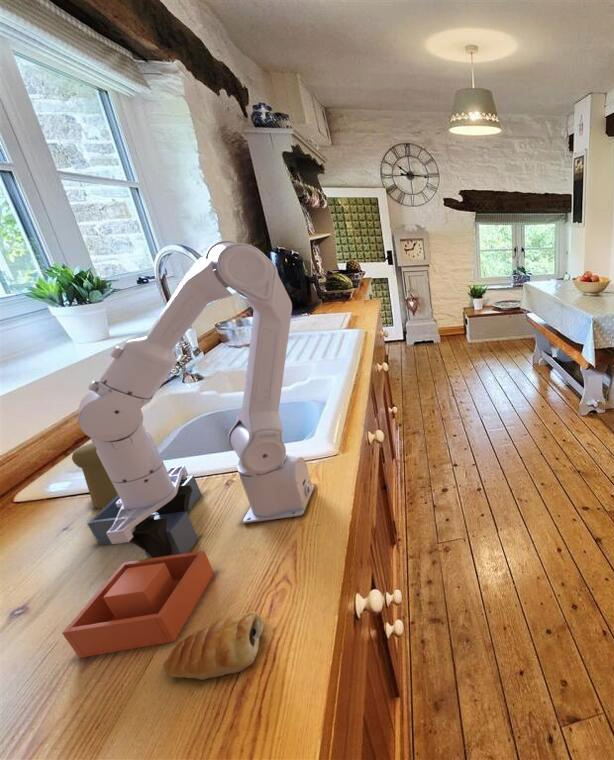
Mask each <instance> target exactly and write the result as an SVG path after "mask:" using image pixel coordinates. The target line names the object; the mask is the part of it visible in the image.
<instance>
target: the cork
mask: <svg viewBox="0 0 614 760" xmlns="http://www.w3.org/2000/svg"><path fill="white" fill-rule="evenodd" d="M96 450H97V448H96V446H95V445H94V444H93V443H92V442H90V443H87V444H85V445H81V446H80V447H78V448H76V449H75V450H74V451H73V452H72V455H71V456H72V457H71V460H72V462H73V463H74V465H75V466H76V467H78V468H80V469H81V470H82V473H83V476H84V479H85V484H86V486H87V490H88V492H89V496H90V499H91V502H92V506H93V507H94V508H97V509H103V508H104V507H105V506H106V505H107V504H109V503H110V502H111V501H112V500H113V499H114V498H115V497H116V496H117V495H118V493H117V491H116V489H115V487H114V485H113V484H112V482H111V480H110V478H109V476H108V474H107V472H106V470H105V468H104V466H103V464H102V462H101V460H100V458H99V456H98V455H97V452H96Z"/></svg>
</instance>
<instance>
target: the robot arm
mask: <svg viewBox="0 0 614 760" xmlns="http://www.w3.org/2000/svg"><path fill="white" fill-rule="evenodd" d="M228 288H230V289H232V290H233V291H235V292H236V293H237V294H238V295H239V297H240V298H242V300H244V302H246V303H247V305H248V306H250V308H251V309H252V310H253V313H252V322H251V329H250V337H249V339H250V340H249V347H248V354H247V355H248V357H247V365H246V371H245V373H246V374H245V380H244V381H245V382H244V391H243V398H242V400H243V401H242V406H241V407H240V409H239V410H238V411H237V414H236V415H237V416H236V421H235V422H234V424H233V425H232V427H231V428H230V430H229V432H228V434H227V436H228V437H227V442H228V444H229V446H230V447H231V448H232V450H233V451H234V452H235V454H236V455H237V457H238V459H239V460H238V464H237V465H236V470H237V472H238V476H239V478H240V481H241V484H242V487H243V489H244V493H245V496H246V498H247V501H248V504H249V506H250V508H249V509H248V511H247V512H246V513H245V516H244V518H243V519H242V522H243V524H250V523H257V522H258V523H259V522H264V521H265V522H266V521H272V520H278V519H286V518H294V517H300V516H302V515H303V514H304V513H305V512H306V511H305V510H306V508H307V506H308V503H309V501H310V499H311V496H312V495H313V491H314V489H315V485H314V484H313V483H312V480H311V476H310V473H309V469H308V466H307V462H306V460H305V458H304V457H303V456H292V455H289V454H287V448H286V444H285V443H284V441H283V426H282V422H281V418H280V411H279V410H280V404H281V403H280V402H281V395H282V388H283V381H284V372H285V365H286V357H287V350H288V343H289V342H288V341H289V335H290V328H291V319H292V311H293V303H292V300H291V298H290V295H289V294H288V292H287V290H286V288H285V285H284V283H283V282H282V280H281V278H280V275H279V272H278V267H277V265H276V264H275V263H274V262H273V261H272V260H271V259H270V258H268V256H267V255H265V253H264V252H263V251H262V250H260V249H259V248H258V247H256V246H254V245H251V244H249V243H243V242H241V243H240V242H235V241H232V240H221V241H218V242H215V243H213V244H211V245H210V246H209V247H208V248H207V250H206V252H205V255H204V257H200V258H199V259H197V261H196V262H195V263H194V264H193V266H192V267H191V268H190V269H189V271H187V273H186V274H185V276H184V277H183V279H182V280H181V281H180V283H179V284H178V286H177V288H176V289H175V291H174V292H173V294H172V295H171V297H170V298H169V300H168V302H167V303H166V304H165V306H164V307H163V308H162V311H161V312H160V313H159V315H158V316H157V319H156V320H155V322H154V323H153V324H152V326H151V328H150V330H149V331H148V333H147V334H146V335H145V336H143V337H140V338H133V339H130V340H127V341H126V342H125V343H124V345H123V346H122V347H121V346H118V345H116V346H115V347H113V350H112V351H111V352H110V356H111V358H113V360H112V361H111V363H110V364H109V365H108V367H107V368H106V370H105V371H104V373H103V374H102V375H101V377H100V378H99V380H98V381H96V380H92V381H91V383H90V384H89V385H88V390H89V392H88V393H87V394H85V395H84V396H83V397H82V399H81V400H80V402H79V406H78V416H77V418H78V419H77V421H78V425H79V428H80V430H81V432H82V433H84V434H85V435H86V436H87V437H89V438H90V440H91V443H93V444H94V445H95V446H96V448H97V450H96V452H97V455H98V456H99V458H100V460H101V462H102V464H103V466H104V468H105V470H106V472H107V474H108V476H109V478H110V480H111V482H112V484H113V485H114V487H115V489H116V491H117V493H118V495H119V497H120V499H119V500H118V501H117V502H116V503H115V504H116V505H117V507H121V508H120V510H119V513H118V515H117V517H116V519H115V521H114V524H113V525H112V527H111V528H110V529H109V530H108V532H107V533H106V534H107V536H108V537H109V539H110V541H111V543H110V544H111V545H115V544H123V543H131V544H134V546H136V547H138V548H140V549H141V550H143V551H144V553H145V552H147V553H148V554H149V555H150V556H151V557H152V558H157V557H164V556H170V555H171V546H170V543H169V540H168V537H167V532H166V523H167V518H163V519H155V520H154V518H153V517H152V518H150V515H151V514H153V513H154V512H155V511H156V512H157V513H158V514H159V515H163V514H170V513H178V512H186V511H187V513H188V515H190V514H189V512H190V511H189V512H188V509H189V500H190V496H191V493H192V488H191V486H189V485H185V486H180V485H179V484H180V481H181V480H184V479H186V478H187V477H188V476H189V472H188V471H187V468H186V466H185V465H179V466H171V467H170V468H169V469H168V470H167V468H166V465H165V463H164V461H163V458H162V456H161V453H160V452H159V449H158V447H157V445H156V443H155V441H154V438H153V435H152V434H151V432H149V431H148V430H147V428H146V426H145V423H144V414H143V411H142V408H143V407H144V406H146V405H147V404H149V403H150V402H151V401H152V399H153V398H154V397H155V395H156V394H157V393H158V391H159V389H160V388H161V386H162V385H163V384H164V383H165V381H166V379H167V378H168V377H169V375H170V374H171V372H172V371H173V369H174V368H175V366H176V365H177V363H178V359H177V357H176V354H175V353H174V348H175V347H176V346H177V344H178V343H180V341H181V339H182V338H183V337H184V336H185V334H186V333H187V331H189V329H190V328H191V326H192V325H193V324H194V323H195V321H196V320H197V319H198V317H199V316H200V315H201V313H202V312H203V311H204V309H205V308H206V307H207V306H208V305H209V304H210V303H213V302H216V301H218V300H219V301H220V300H224V299H226V298H229V297H232V296H233V293H232V292H231V291H230V290H228Z"/></svg>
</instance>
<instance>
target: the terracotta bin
mask: <svg viewBox="0 0 614 760" xmlns="http://www.w3.org/2000/svg"><path fill="white" fill-rule="evenodd" d="M161 563H165V565H166V567H167V569H168V571H169V573H170V575H171V577H172V579H173V581H174V583H175V585H176V588H175V589H174V591H173V592H172V594H171V595H170V597H169V598H168V600H167V601H166V603H165V604H164V606H163V607H162V609H161V610H160V612H159V613H158V614H152V615H146V616H140V617H134V618H128V619H121V620H116V618H115V617H114V615H113V613H112V612H111V610H110V608H109V607H108V605H107V603H106V602H105V600H104V598H103V597H104V596H105V595H106V593H107V592H108V591H109V590H110V589H111V587H112V586H113V585H114V584H115V583H116V582H117V580H118V579H119V578H120V577H121V576H122V574H123V573H124V572H125V571H126V570H127V569H128V568H133V567H140V566H147V565H154V564H161ZM214 575H215V571H214V569H213V567H212V565H211V562H210V560H209V558H208V556H207V553H206V552H205V550H200V551H199V550H198V551H193V552H189V553H184V554H177V555H171V556H164V557H157V558H150V559H148V558H144V559H143V558H142V559H136V560H131V561H124V562H122V563H121V564H120V565H119V566H118V568H117V569H116V570H115V571H114V572H113V574H111V576H110V577H109V578H108V579H107V580H106V581H105V582H104V584H103V585H102V586H101V587H100V588H99V590H98V591H97V592H96V593H95V594H94V595H93V596H92V597H91V599H90V600H89V601H88V602H87V603H86V604H85V606H84V607H83V608H82V609H81V610H80V611H79V613H78V614H77V615H76V616H75V617H74V618H73V619H72V621H71V622H70V623H69V624H68V626H66V628H65V629H64V630H63V631H62V633H61V634H62V636H63V637H64V638H65V639H66V641H67V642H68V644H69V645H70V647H71V648H72V650H73V651H74V652H75V654H76V655H77V657H78V659H83V658H88V657H92V656H98V655H105V654H110V653H115V652H123V651H128V650H133V649H139V648H146V647H151V646H156V645H157V646H158V645H162V644H169V643H174V642H175V641H176V640H177V638H178V636H179V634H180V633H181V631H182V629H183V627H184V626H185V624H186V622H187V621H188V619H189V617H190V615H191V614H192V612H193V610H194V609H195V607H196V606H197V604H198V603H199V600H200V599H201V597H202V595H203V593H204V592H205V590H206V588H207V587H208V585H209V584H210V581H211V580H212V578H213V576H214Z"/></svg>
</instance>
